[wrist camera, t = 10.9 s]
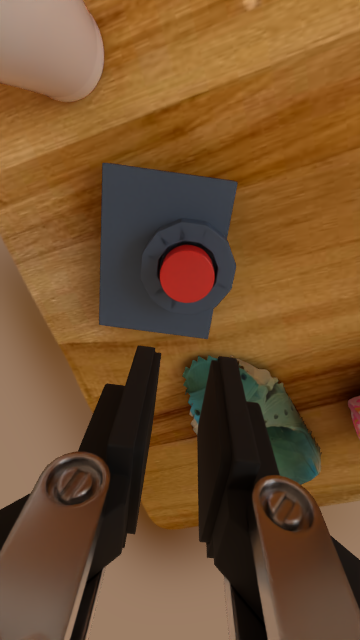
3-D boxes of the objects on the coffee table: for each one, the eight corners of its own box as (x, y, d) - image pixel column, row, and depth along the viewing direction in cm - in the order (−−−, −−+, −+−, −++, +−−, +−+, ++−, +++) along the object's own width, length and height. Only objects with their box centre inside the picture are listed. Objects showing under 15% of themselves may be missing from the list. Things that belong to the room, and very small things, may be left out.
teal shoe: (257, 495, 37) (267, 540, 32) (161, 369, 31) (155, 402, 26) (333, 464, 35) (356, 507, 30) (246, 322, 29) (258, 348, 24)
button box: (110, 163, 23) (94, 162, 19) (244, 182, 23) (253, 184, 20) (105, 313, 28) (92, 335, 24) (215, 328, 28) (218, 351, 25)
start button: (164, 240, 22) (162, 246, 20) (217, 248, 22) (219, 254, 20) (159, 290, 23) (156, 299, 22) (208, 297, 23) (209, 306, 22)
